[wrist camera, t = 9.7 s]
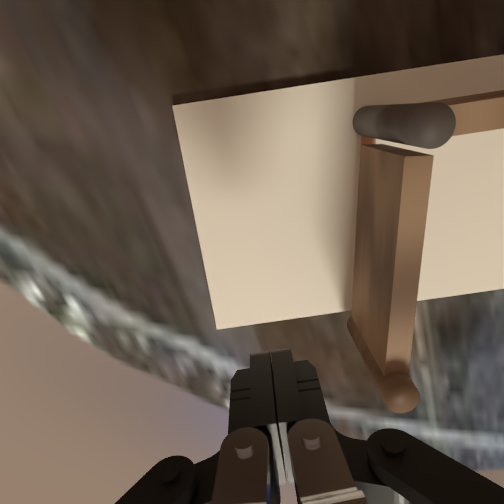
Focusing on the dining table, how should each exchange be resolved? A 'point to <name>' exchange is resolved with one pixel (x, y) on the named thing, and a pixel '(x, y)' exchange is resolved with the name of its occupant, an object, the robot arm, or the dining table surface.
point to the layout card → (332, 192)
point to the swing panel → (389, 265)
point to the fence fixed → (431, 119)
